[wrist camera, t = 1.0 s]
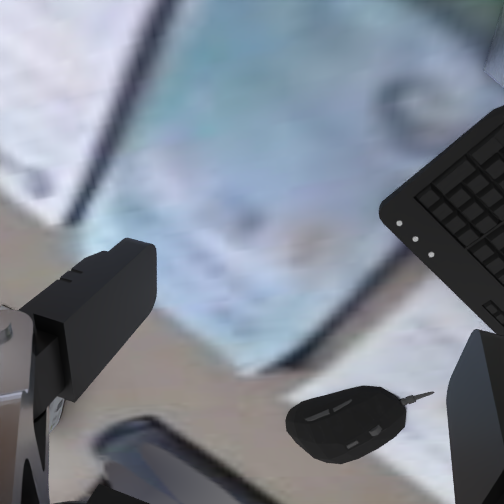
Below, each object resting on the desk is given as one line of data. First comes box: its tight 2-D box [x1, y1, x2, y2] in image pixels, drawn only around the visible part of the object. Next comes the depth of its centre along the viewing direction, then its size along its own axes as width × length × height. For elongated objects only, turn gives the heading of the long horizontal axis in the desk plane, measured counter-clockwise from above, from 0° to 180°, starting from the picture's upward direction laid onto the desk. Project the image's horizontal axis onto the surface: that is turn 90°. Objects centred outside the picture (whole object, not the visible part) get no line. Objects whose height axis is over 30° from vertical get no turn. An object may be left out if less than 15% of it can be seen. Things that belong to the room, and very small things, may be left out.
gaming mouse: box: [285, 386, 434, 464], centre depth 40 cm, size 6×15×4 cm, turn 127°
